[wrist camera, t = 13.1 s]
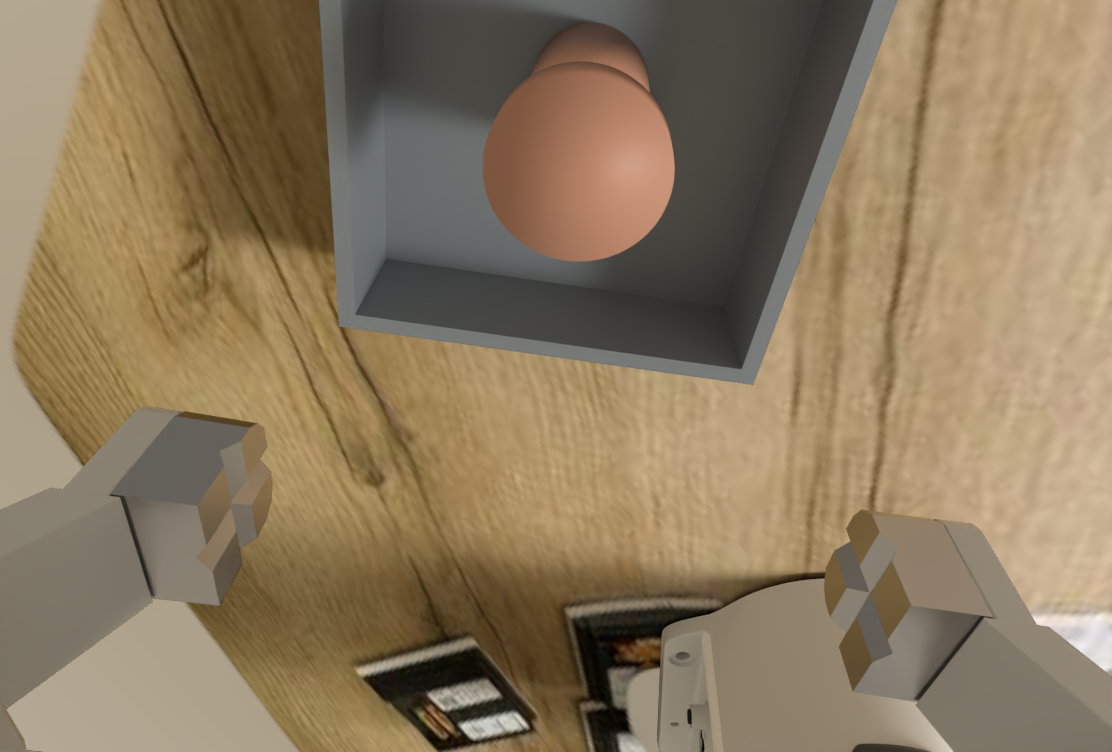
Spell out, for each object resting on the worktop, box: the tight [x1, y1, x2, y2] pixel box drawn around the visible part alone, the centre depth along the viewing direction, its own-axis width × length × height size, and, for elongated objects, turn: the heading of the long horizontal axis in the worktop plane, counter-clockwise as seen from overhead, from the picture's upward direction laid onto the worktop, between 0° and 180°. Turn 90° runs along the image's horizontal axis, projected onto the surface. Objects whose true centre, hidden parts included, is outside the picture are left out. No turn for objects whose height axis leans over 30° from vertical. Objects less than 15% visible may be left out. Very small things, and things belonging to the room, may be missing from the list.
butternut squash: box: [482, 23, 675, 261], centre depth 21 cm, size 5×5×8 cm
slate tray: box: [319, 0, 897, 385], centre depth 23 cm, size 15×15×5 cm
